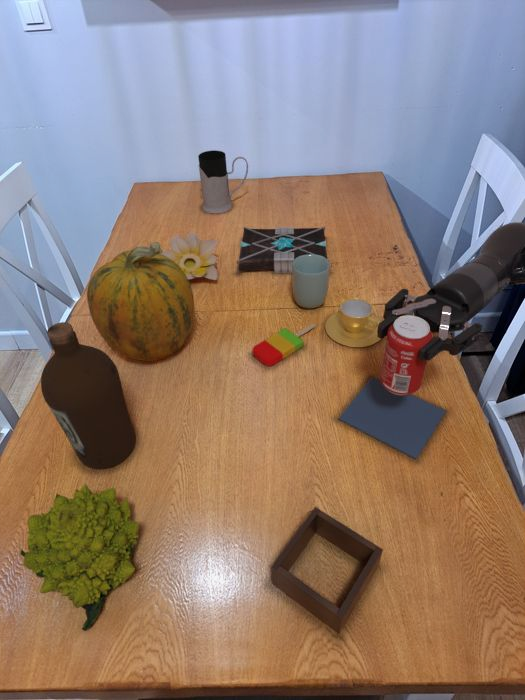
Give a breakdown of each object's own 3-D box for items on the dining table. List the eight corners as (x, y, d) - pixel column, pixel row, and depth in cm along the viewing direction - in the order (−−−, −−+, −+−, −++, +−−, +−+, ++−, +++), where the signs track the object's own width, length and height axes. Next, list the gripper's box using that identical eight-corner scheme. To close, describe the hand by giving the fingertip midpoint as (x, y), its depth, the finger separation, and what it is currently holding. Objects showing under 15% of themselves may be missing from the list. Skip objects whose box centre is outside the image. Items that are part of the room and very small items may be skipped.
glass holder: (201, 201, 147) (194, 151, 137) (247, 196, 149) (244, 146, 138) (203, 215, 141) (197, 163, 130) (252, 209, 142) (249, 157, 132)
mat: (445, 412, 83) (446, 410, 83) (416, 460, 76) (416, 458, 76) (371, 378, 90) (372, 376, 89) (338, 419, 83) (338, 418, 83)
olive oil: (123, 411, 86) (82, 295, 69) (151, 449, 80) (114, 332, 63) (64, 441, 81) (6, 325, 65) (89, 485, 75) (31, 369, 58)
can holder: (378, 567, 64) (383, 549, 61) (339, 634, 58) (342, 619, 55) (313, 525, 69) (315, 506, 66) (271, 583, 63) (270, 566, 60)
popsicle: (250, 354, 96) (249, 347, 94) (305, 321, 103) (305, 314, 101) (268, 369, 93) (268, 362, 91) (324, 334, 100) (324, 327, 98)
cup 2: (313, 330, 100) (314, 309, 97) (348, 304, 107) (351, 283, 103) (360, 357, 94) (363, 335, 90) (396, 327, 100) (400, 306, 96)
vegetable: (97, 654, 54) (32, 544, 51) (39, 621, 65) (-18, 528, 62) (188, 559, 65) (140, 463, 61) (126, 544, 75) (81, 461, 72)
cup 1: (291, 292, 111) (292, 254, 104) (326, 292, 110) (328, 253, 103) (292, 313, 105) (292, 274, 98) (328, 313, 104) (331, 274, 98)
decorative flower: (150, 287, 111) (147, 244, 106) (159, 271, 121) (156, 231, 116) (217, 289, 111) (216, 246, 107) (219, 272, 121) (219, 232, 117)
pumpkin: (205, 368, 93) (187, 254, 77) (103, 386, 91) (61, 272, 74) (194, 310, 107) (177, 202, 90) (105, 324, 104) (70, 216, 88)
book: (237, 274, 117) (236, 256, 114) (243, 239, 129) (241, 221, 126) (328, 273, 116) (329, 255, 112) (325, 238, 128) (326, 220, 125)
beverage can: (426, 379, 78) (441, 321, 70) (410, 405, 74) (425, 346, 66) (389, 365, 81) (399, 307, 73) (372, 389, 77) (381, 331, 69)
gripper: (499, 332, 76) (438, 388, 68) (419, 295, 84) (357, 341, 76) (513, 293, 71) (450, 348, 63) (427, 257, 79) (361, 302, 71)
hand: (399, 344), depth 70 cm, fingers closed on beverage can, 6 cm apart
